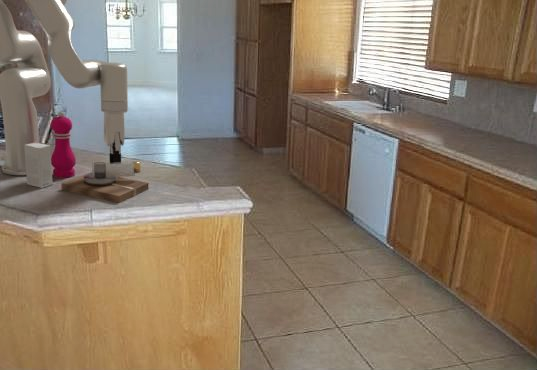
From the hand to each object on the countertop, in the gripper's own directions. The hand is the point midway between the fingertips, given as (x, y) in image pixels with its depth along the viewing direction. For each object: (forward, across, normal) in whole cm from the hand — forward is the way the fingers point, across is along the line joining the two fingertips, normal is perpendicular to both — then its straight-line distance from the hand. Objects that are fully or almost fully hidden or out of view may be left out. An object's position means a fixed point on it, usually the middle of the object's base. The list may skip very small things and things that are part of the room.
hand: (115, 165), depth 158 cm
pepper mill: (+5, -10, -14) cm, 18 cm away
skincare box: (+5, -2, -21) cm, 22 cm away
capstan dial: (+3, +5, -1) cm, 6 cm away
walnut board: (+5, +6, -4) cm, 9 cm away
